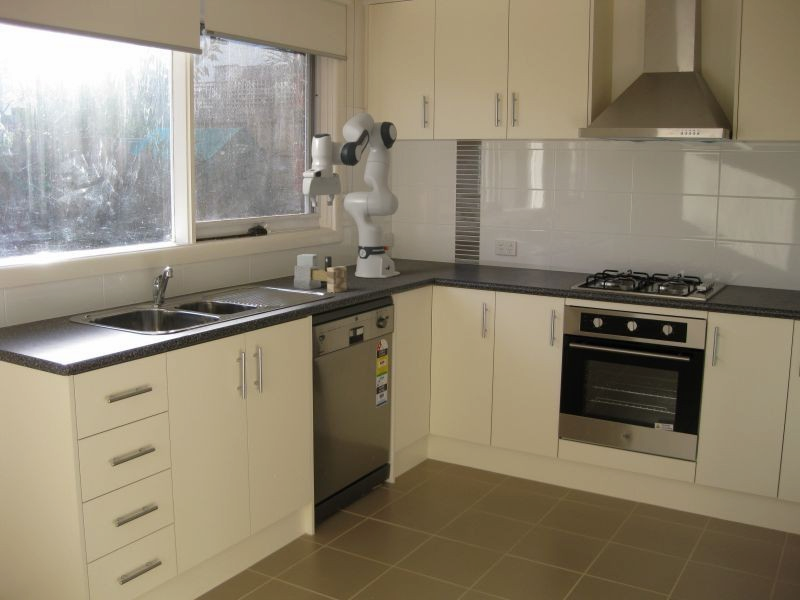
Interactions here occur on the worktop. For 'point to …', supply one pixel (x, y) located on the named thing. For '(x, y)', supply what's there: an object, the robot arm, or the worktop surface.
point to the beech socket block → (337, 279)
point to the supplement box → (307, 259)
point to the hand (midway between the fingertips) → (322, 206)
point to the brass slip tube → (322, 274)
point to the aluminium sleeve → (305, 277)
